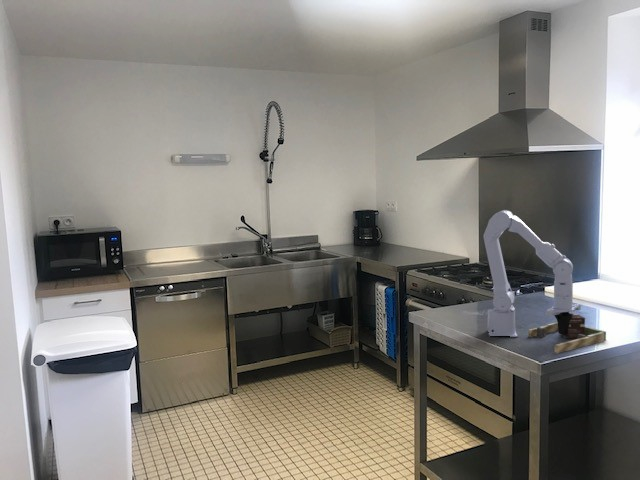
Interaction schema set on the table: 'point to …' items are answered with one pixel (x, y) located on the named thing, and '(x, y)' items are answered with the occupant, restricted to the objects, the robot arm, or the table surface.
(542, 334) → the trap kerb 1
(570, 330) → the box
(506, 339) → the table surface
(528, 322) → the table surface
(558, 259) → the robot arm
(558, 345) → the wooden frame
